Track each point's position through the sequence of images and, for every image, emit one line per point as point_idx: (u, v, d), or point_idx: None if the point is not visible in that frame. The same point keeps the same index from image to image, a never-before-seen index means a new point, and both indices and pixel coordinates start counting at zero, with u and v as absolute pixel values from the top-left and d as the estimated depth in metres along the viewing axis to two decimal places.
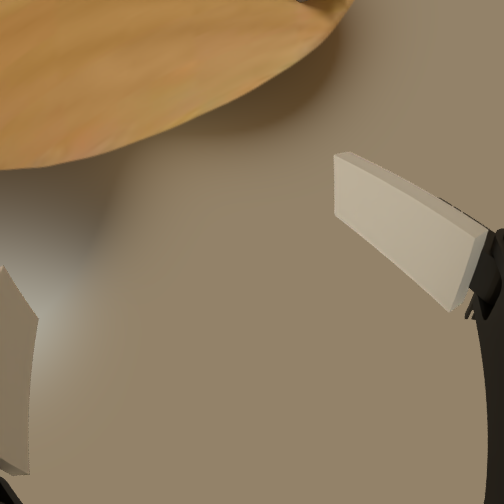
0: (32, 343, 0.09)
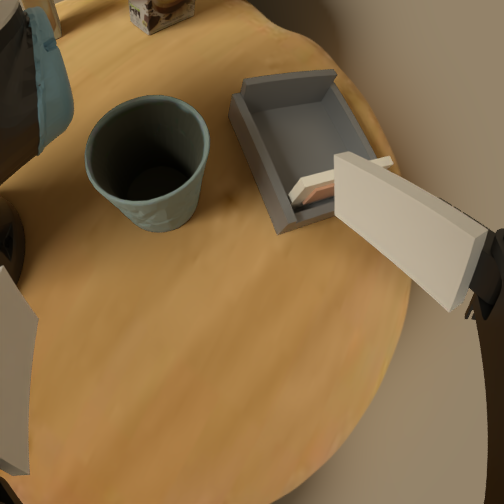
0: (32, 343, 0.09)
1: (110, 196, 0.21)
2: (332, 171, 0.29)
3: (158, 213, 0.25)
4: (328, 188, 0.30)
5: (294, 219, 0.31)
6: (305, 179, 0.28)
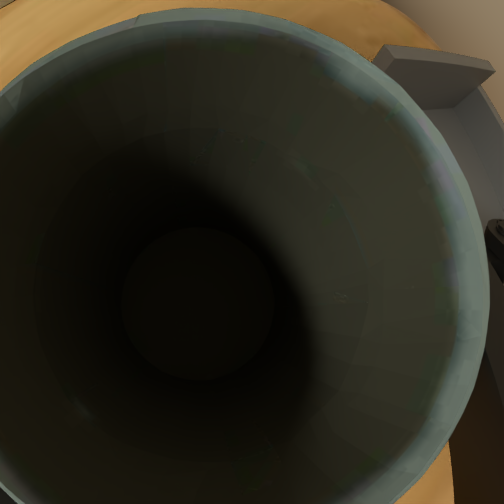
0: None
1: None
2: None
3: None
4: None
5: None
6: None
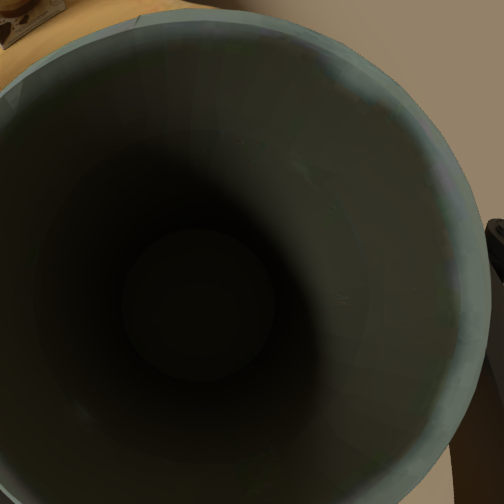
0: None
1: None
2: None
3: None
4: None
5: None
6: None
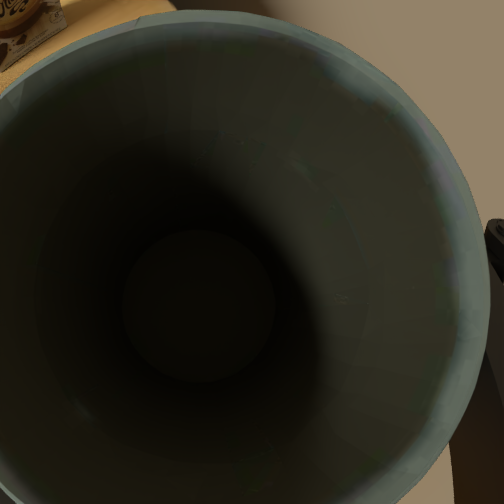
0: None
1: None
2: None
3: None
4: None
5: None
6: None
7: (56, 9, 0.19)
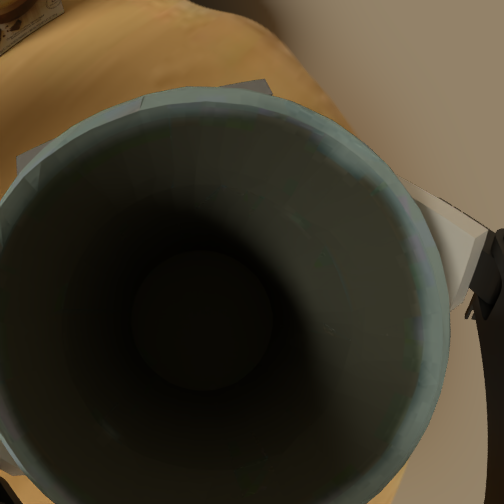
0: None
1: None
2: None
3: None
4: None
5: None
6: None
7: None
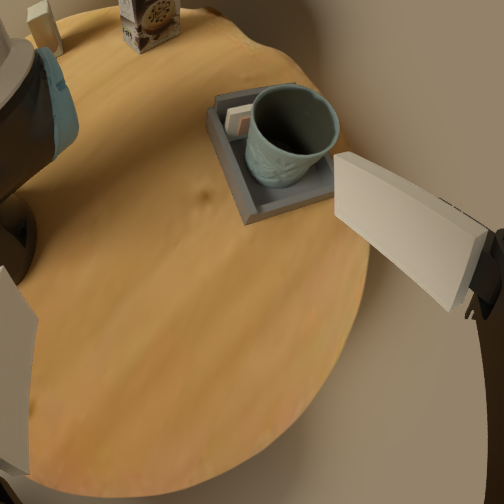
0: (32, 343, 0.09)
1: (280, 149, 0.31)
2: None
3: (300, 167, 0.35)
4: None
5: (255, 211, 0.38)
6: (231, 109, 0.36)
7: (177, 23, 0.45)
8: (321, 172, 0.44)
